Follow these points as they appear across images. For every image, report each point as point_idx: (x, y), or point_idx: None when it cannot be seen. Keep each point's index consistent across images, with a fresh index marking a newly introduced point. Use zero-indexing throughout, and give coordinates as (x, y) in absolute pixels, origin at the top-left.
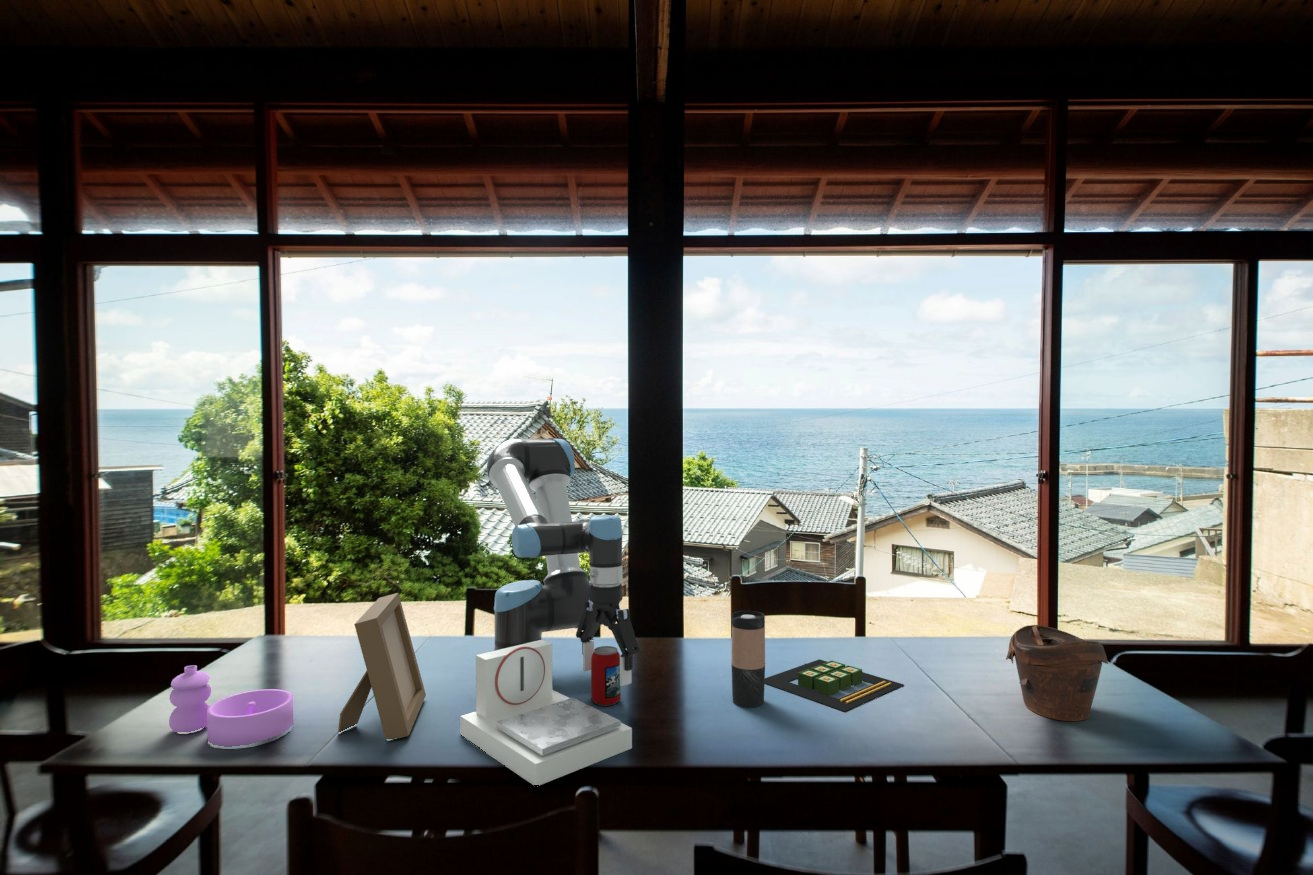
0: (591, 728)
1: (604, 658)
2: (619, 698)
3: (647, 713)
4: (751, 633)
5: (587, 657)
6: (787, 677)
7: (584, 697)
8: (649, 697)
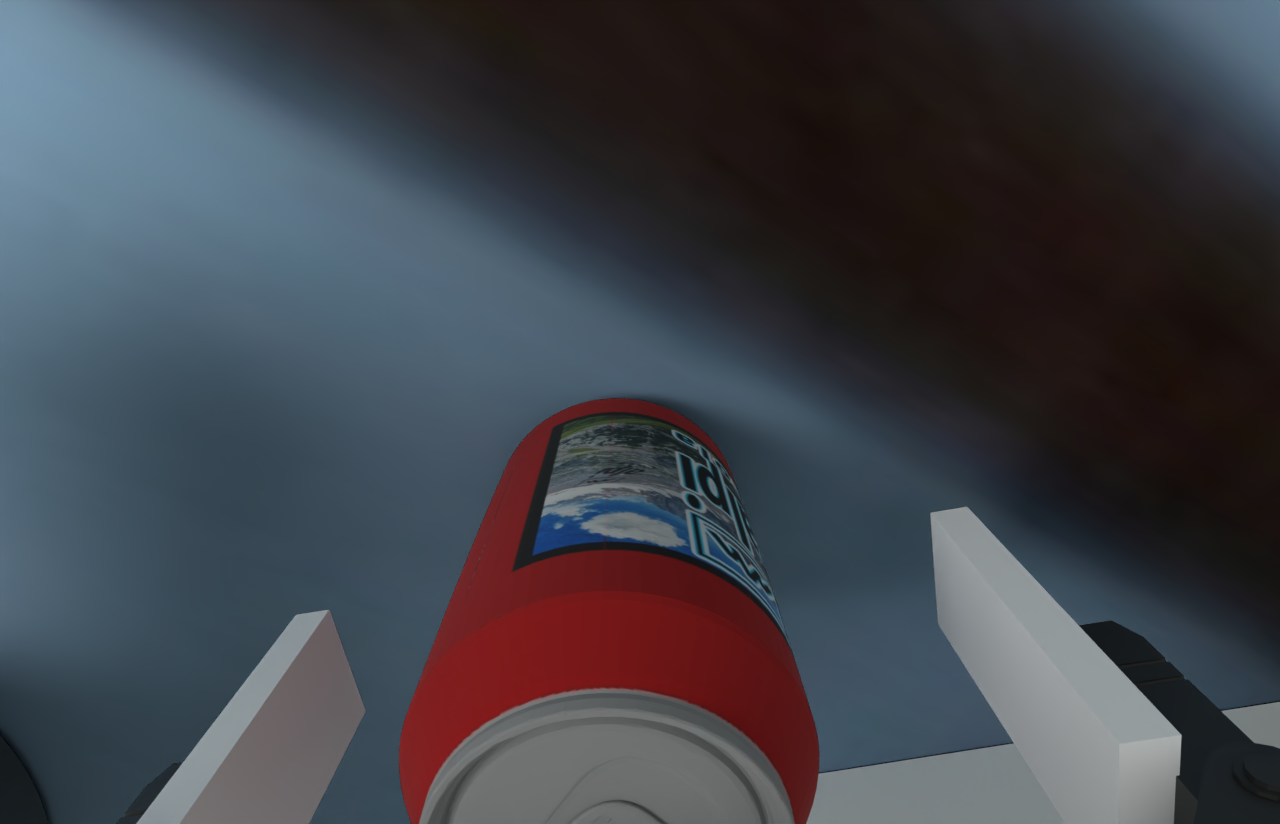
0: None
1: None
2: (715, 446)
3: (1011, 343)
4: None
5: (297, 796)
6: None
7: None
8: (738, 139)
